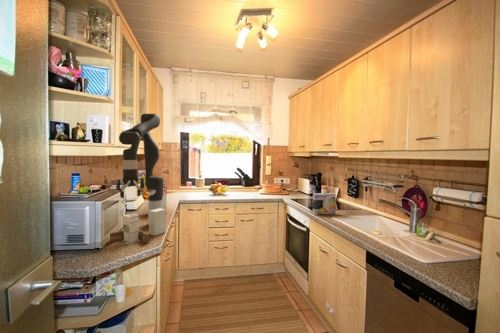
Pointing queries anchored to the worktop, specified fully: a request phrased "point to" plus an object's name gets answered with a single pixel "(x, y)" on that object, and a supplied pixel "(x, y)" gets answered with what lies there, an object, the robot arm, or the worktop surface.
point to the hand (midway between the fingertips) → (130, 197)
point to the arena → (120, 236)
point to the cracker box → (151, 192)
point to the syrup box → (130, 227)
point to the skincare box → (157, 221)
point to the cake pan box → (324, 203)
